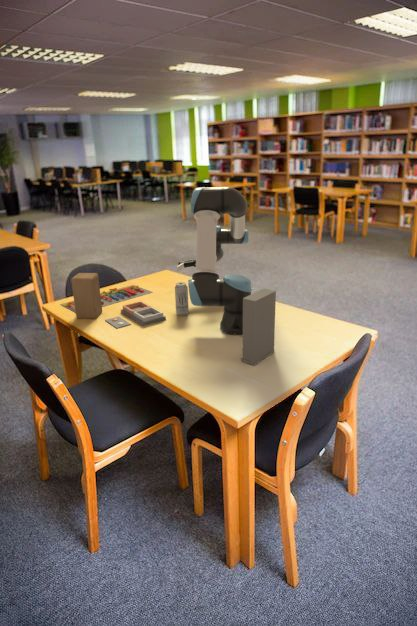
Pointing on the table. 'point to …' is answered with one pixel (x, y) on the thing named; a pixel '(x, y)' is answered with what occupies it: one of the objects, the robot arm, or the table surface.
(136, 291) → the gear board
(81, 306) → the wooden block
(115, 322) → the grey button plate
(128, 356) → the table surface
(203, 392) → the table surface
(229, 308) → the robot arm
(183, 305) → the energy drink can
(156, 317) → the socket plate
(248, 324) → the upright grey panel
